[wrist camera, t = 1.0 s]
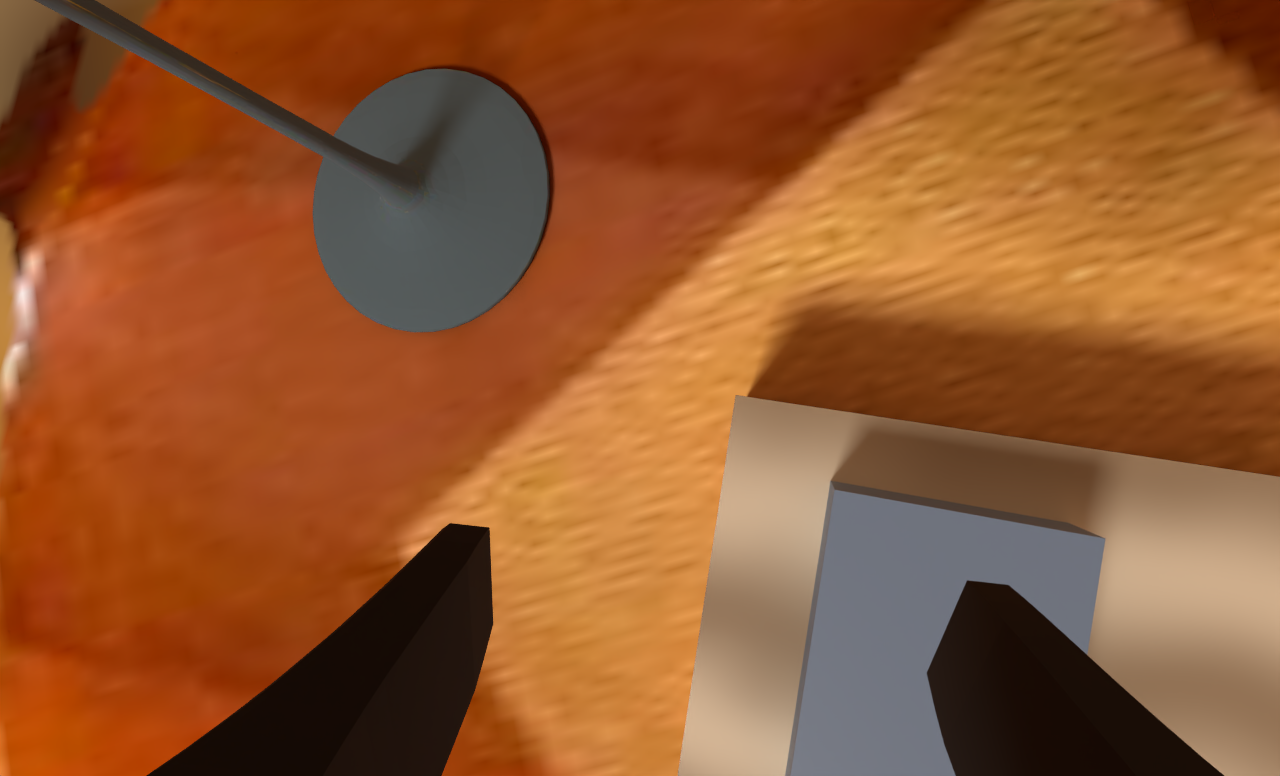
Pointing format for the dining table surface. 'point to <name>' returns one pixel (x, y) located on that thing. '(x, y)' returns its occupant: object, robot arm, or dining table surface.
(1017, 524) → the blue-grey rectangular block
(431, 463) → the dining table surface
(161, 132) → the dining table surface
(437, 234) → the cocktail glass
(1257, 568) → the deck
